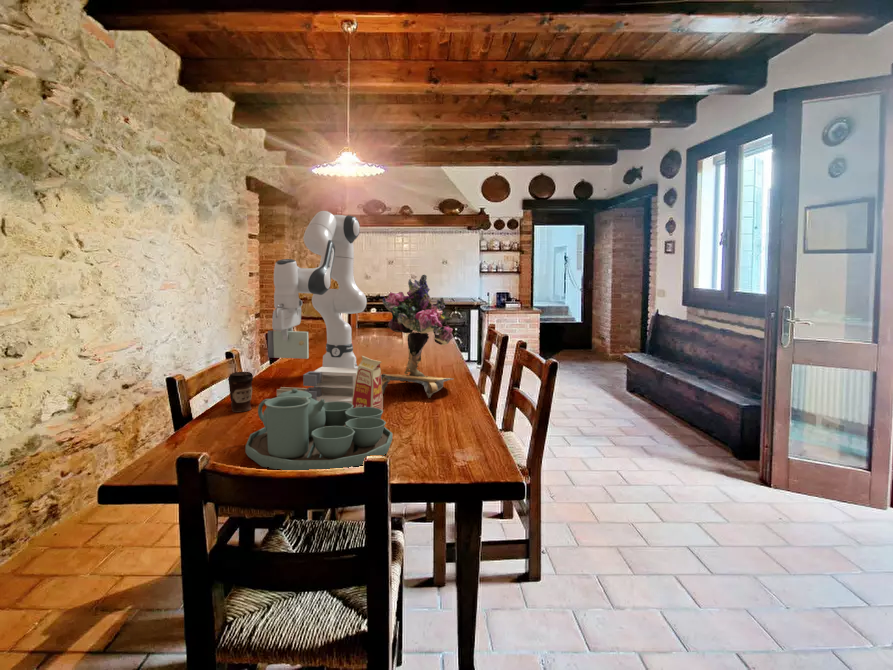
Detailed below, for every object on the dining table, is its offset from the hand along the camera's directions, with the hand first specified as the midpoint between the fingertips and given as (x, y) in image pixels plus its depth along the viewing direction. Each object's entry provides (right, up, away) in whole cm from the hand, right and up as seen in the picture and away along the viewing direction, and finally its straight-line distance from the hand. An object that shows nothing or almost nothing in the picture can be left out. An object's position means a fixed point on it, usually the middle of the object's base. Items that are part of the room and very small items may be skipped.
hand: (287, 339), depth 211 cm
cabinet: (+18, -23, -2) cm, 29 cm away
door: (0, -7, +1) cm, 7 cm away
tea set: (+25, -30, -53) cm, 66 cm away
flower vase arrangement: (+47, -21, +18) cm, 55 cm away
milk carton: (+33, -26, -18) cm, 46 cm away
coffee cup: (-11, -25, -17) cm, 32 cm away
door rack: (+1, -22, +3) cm, 22 cm away
